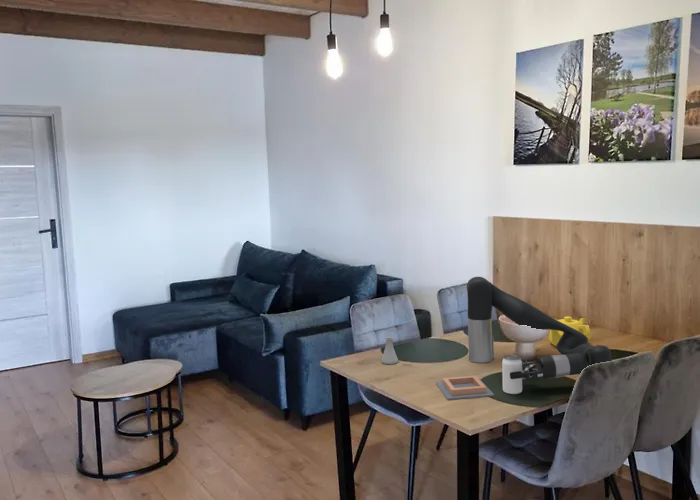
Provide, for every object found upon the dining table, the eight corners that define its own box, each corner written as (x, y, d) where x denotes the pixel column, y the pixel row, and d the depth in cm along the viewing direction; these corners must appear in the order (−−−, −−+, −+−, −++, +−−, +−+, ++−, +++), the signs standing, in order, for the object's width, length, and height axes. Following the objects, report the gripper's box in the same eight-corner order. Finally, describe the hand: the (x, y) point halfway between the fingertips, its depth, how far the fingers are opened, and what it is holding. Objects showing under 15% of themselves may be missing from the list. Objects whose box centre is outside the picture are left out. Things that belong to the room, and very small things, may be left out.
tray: (479, 380, 219) (479, 373, 219) (494, 396, 203) (493, 388, 203) (436, 383, 218) (435, 376, 217) (447, 400, 202) (447, 392, 202)
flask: (397, 365, 241) (396, 340, 240) (379, 364, 242) (378, 340, 241) (399, 359, 248) (399, 335, 247) (382, 359, 250) (381, 335, 248)
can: (500, 388, 210) (499, 355, 209) (518, 387, 211) (517, 353, 209) (506, 395, 204) (505, 360, 202) (525, 393, 204) (524, 359, 203)
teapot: (592, 350, 248) (592, 321, 246) (550, 350, 251) (550, 321, 249) (584, 339, 264) (584, 312, 263) (544, 339, 267) (544, 312, 266)
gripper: (562, 383, 199) (513, 389, 199) (546, 370, 214) (500, 376, 213) (560, 361, 199) (511, 367, 198) (544, 350, 213) (499, 355, 212)
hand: (506, 371), depth 206 cm, fingers open, 8 cm apart
